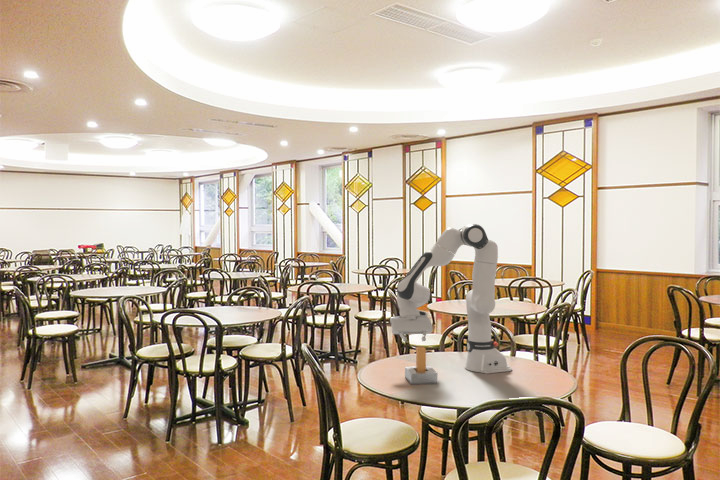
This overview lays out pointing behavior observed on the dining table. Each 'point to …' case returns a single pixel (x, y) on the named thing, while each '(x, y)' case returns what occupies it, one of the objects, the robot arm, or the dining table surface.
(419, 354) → the rectangular peg
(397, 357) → the dining table surface
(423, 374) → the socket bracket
